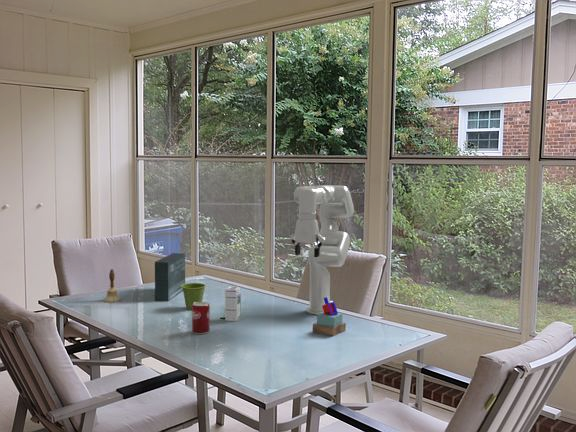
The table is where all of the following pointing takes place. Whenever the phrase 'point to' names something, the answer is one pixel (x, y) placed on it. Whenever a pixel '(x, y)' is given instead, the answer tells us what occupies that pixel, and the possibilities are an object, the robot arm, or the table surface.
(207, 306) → the soda can
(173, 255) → the dark green box
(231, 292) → the syrup box
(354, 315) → the table surface
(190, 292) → the plant pot
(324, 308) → the dreidel
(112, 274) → the hand bell
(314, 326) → the tower base block
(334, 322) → the tower top block
